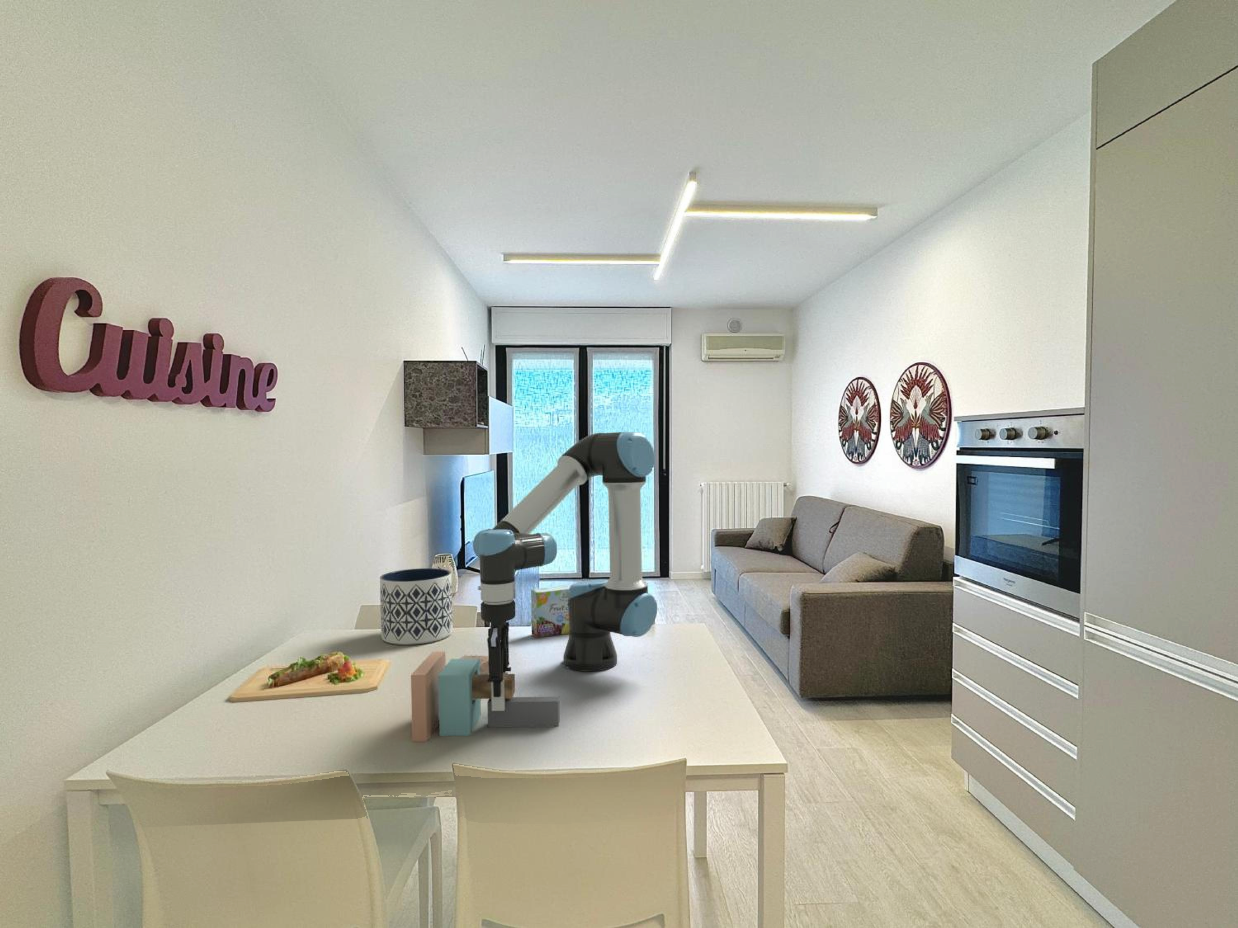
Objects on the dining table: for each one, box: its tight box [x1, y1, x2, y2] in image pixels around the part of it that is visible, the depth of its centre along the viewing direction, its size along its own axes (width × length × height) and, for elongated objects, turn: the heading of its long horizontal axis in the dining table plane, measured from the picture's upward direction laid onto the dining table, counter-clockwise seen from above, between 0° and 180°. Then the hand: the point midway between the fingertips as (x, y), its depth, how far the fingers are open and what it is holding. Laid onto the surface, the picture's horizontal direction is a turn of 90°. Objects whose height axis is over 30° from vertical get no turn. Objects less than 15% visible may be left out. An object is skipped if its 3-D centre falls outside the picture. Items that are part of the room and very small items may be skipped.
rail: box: [487, 695, 561, 728], centre depth 148 cm, size 16×3×6 cm, turn 90°
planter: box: [379, 567, 454, 646], centre depth 219 cm, size 22×22×20 cm
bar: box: [472, 673, 516, 700], centre depth 148 cm, size 13×4×4 cm, turn 90°
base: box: [410, 650, 447, 742], centre depth 148 cm, size 3×16×14 cm, turn 0°
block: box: [438, 658, 482, 737], centre depth 148 cm, size 6×11×13 cm, turn 0°
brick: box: [459, 654, 489, 674], centre depth 177 cm, size 17×8×5 cm, turn 164°
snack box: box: [530, 584, 572, 639], centre depth 221 cm, size 21×6×15 cm, turn 117°
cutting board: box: [228, 651, 392, 703], centre depth 178 cm, size 35×23×8 cm
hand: (500, 705), depth 148 cm, fingers closed on bar, 4 cm apart
